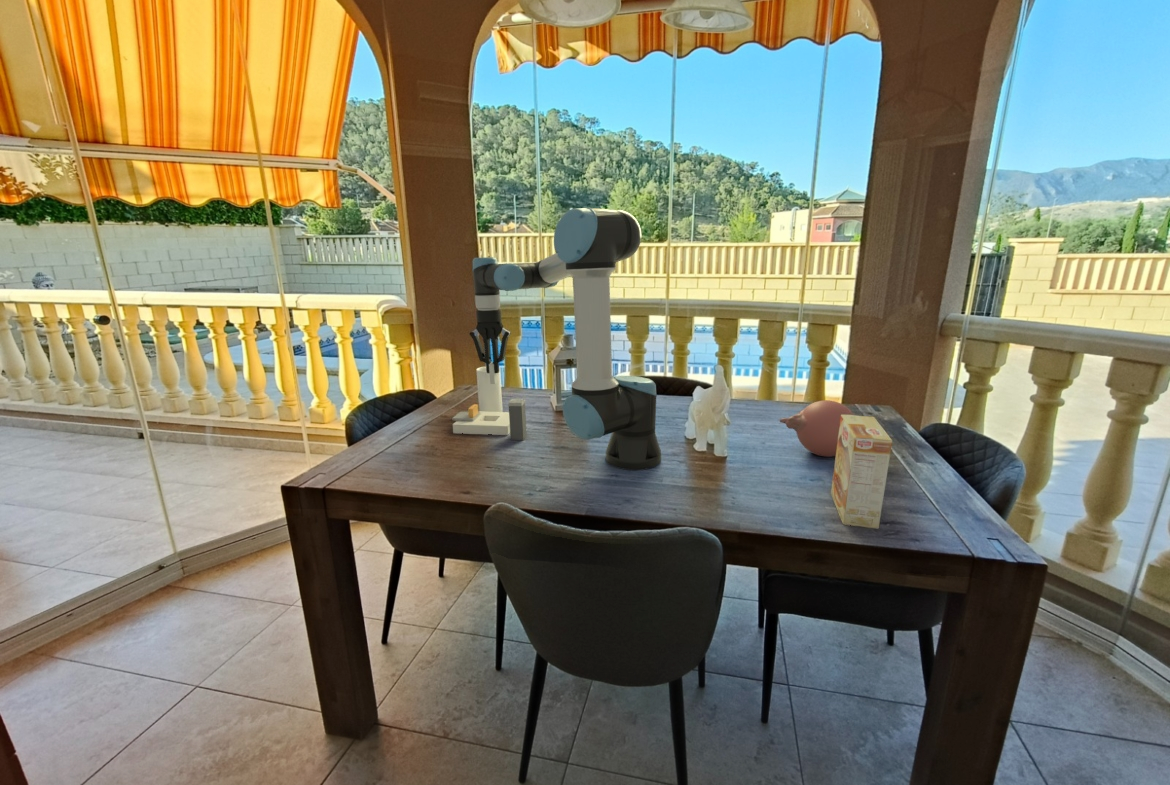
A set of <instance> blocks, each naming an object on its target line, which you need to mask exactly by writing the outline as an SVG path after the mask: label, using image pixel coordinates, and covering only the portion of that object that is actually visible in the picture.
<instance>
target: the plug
mask: <svg viewBox="0 0 1170 785" xmlns="http://www.w3.org/2000/svg"><path fill="white" fill-rule="evenodd" d="M507 406H508V412H509V420H510V433H509V435H510V441H524V440H525V439H526V438H527V421H526V420H527V417H526V399H525V398H511V399H510V400H509V401H508V403H507Z"/></svg>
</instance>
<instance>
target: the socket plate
mask: <svg viewBox="0 0 1170 785" xmlns="http://www.w3.org/2000/svg"><path fill="white" fill-rule="evenodd" d="M478 412H480V415H479V416H478V417H477V418H476V419H475V420H474V421H455V422H454V423H452V432H453V433H452V434H460V435H461V434H462V433H463V434H464V435H467V434H468V435H488V434H492V435H494V436H499V435H500V436H509V435H510V420H509V411H502V412H485V411H479V410H478ZM508 434H509V435H508Z"/></svg>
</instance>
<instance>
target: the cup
mask: <svg viewBox="0 0 1170 785" xmlns="http://www.w3.org/2000/svg"><path fill="white" fill-rule="evenodd" d="M475 370H476V382H477V383H476V384H477V385H476V386H477V398H478V399H477V400H478V411H485V412H504V411H503V398H502V395H503V394H502V380H501V367H499V373H497V383H496V384H490V373H487V371H486V365H485V366H481V367H477V368H476V369H475Z"/></svg>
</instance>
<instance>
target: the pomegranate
mask: <svg viewBox="0 0 1170 785" xmlns="http://www.w3.org/2000/svg"><path fill="white" fill-rule="evenodd" d="M841 415H855V414H854V413H853V411H852V410H850V409H849V408H848V407H847V406H846V405H844V404H843V403H841V402H838V401H835V400H829V399H828V400H823V399H822V400H818V401H815V402H812V403H810V404H808V405H806V406H805V407H804V408H803V410H800V411H799V412H798V413H796V414H794V415H792V416H790V417H784V418H783V417H782V418H780V419H779V422H780V423H782V424H785V426H786V427H787V428H788V429H790V430H794V431H795V433H796V436H797V438H798V440H799V442H800V444H801V446H803V447H804V448H805V449H806V450H807V451H809V453H812V454H814V455H816V456H818V457H819V456H821V457H828V458H829V457H830V458H831V457H836V450H837V443H838V435H839V427H840V418H841Z"/></svg>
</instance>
